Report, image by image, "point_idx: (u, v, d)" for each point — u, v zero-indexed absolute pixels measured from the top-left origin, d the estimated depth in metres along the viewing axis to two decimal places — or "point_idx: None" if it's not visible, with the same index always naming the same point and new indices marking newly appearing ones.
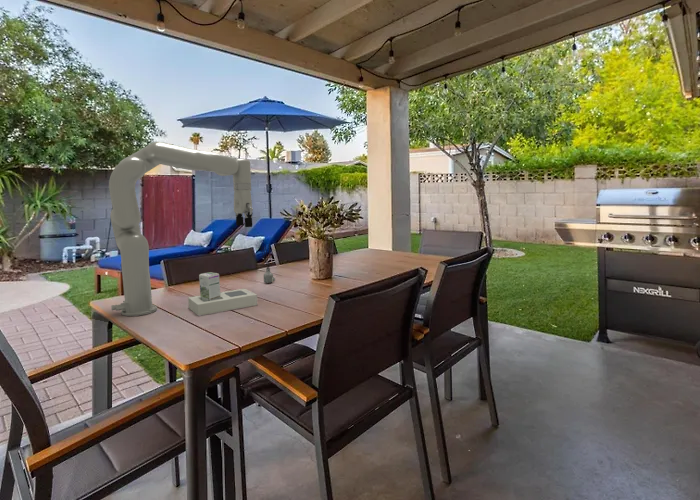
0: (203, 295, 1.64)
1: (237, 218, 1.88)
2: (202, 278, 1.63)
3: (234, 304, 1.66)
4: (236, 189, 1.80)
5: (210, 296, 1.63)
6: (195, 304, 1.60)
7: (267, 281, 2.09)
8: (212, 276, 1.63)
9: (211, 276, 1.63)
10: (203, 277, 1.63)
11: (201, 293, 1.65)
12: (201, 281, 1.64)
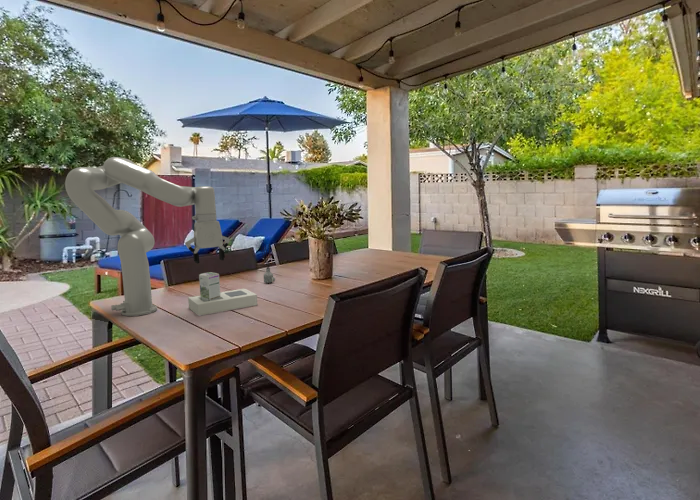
0: (203, 295, 1.64)
1: None
2: (202, 278, 1.63)
3: (234, 304, 1.66)
4: (213, 220, 1.60)
5: (210, 296, 1.63)
6: (195, 304, 1.60)
7: (267, 281, 2.09)
8: (212, 276, 1.63)
9: (211, 276, 1.63)
10: (203, 277, 1.63)
11: (201, 293, 1.65)
12: (201, 281, 1.64)
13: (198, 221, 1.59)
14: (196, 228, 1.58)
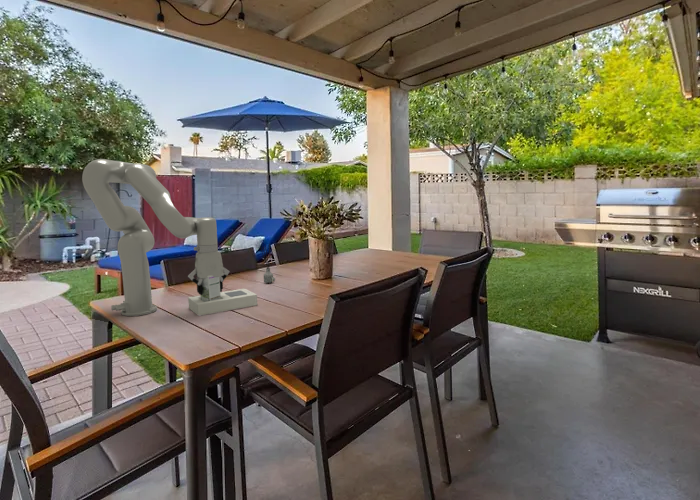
0: (203, 295, 1.64)
1: (201, 286, 1.63)
2: None
3: (234, 304, 1.66)
4: (214, 251, 1.62)
5: (210, 296, 1.63)
6: (195, 304, 1.60)
7: (267, 281, 2.09)
8: None
9: (211, 276, 1.63)
10: None
11: None
12: None
13: (200, 252, 1.61)
14: (197, 259, 1.60)
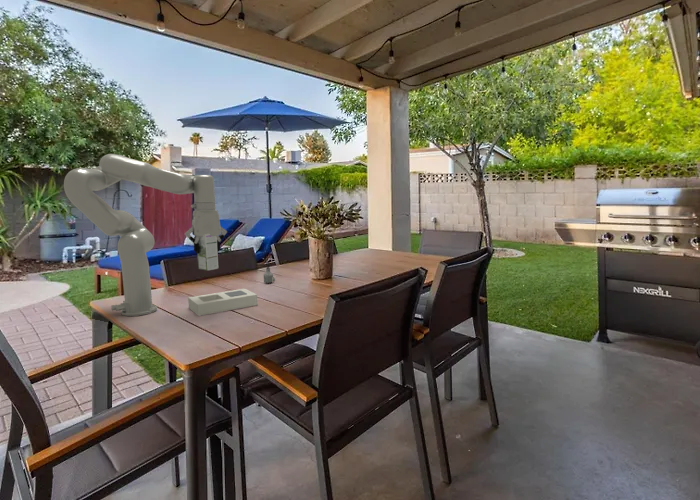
0: (200, 254, 1.62)
1: (198, 245, 1.60)
2: None
3: (234, 304, 1.66)
4: (211, 209, 1.59)
5: (207, 255, 1.61)
6: (195, 304, 1.60)
7: (267, 281, 2.09)
8: None
9: (208, 234, 1.60)
10: None
11: None
12: None
13: (197, 209, 1.58)
14: (194, 216, 1.57)
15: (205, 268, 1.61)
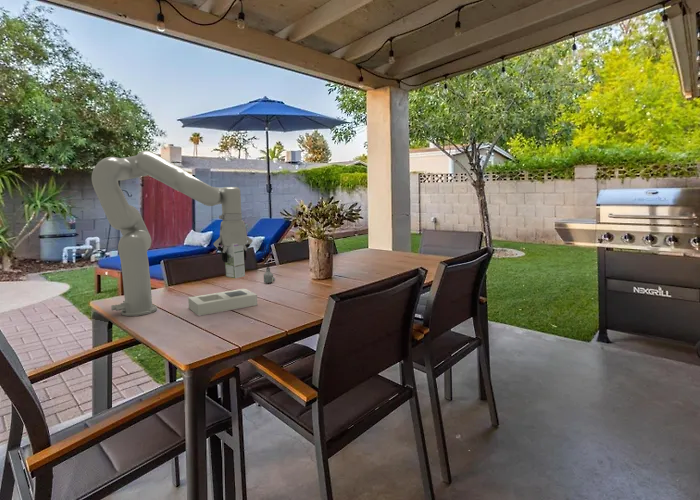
0: (228, 263, 1.69)
1: (226, 254, 1.67)
2: None
3: (234, 304, 1.66)
4: (238, 220, 1.66)
5: (235, 264, 1.67)
6: (195, 304, 1.60)
7: (267, 281, 2.09)
8: (237, 244, 1.68)
9: (236, 244, 1.67)
10: None
11: None
12: None
13: (225, 220, 1.65)
14: (223, 227, 1.64)
15: (233, 276, 1.68)
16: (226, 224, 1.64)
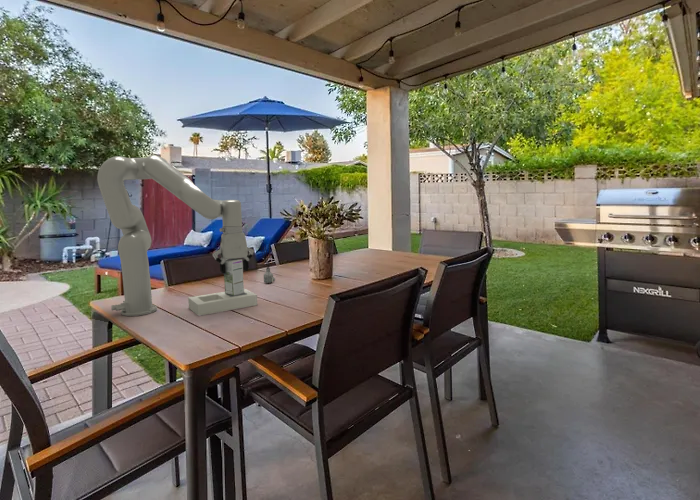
0: (227, 280, 1.70)
1: (224, 265, 1.67)
2: (226, 263, 1.69)
3: (234, 304, 1.66)
4: (239, 232, 1.67)
5: (234, 281, 1.68)
6: (195, 304, 1.60)
7: (267, 281, 2.09)
8: (236, 262, 1.68)
9: (235, 261, 1.68)
10: (227, 262, 1.68)
11: (225, 278, 1.70)
12: (225, 266, 1.69)
13: (225, 233, 1.66)
14: (223, 240, 1.65)
15: (232, 293, 1.69)
16: (227, 237, 1.65)
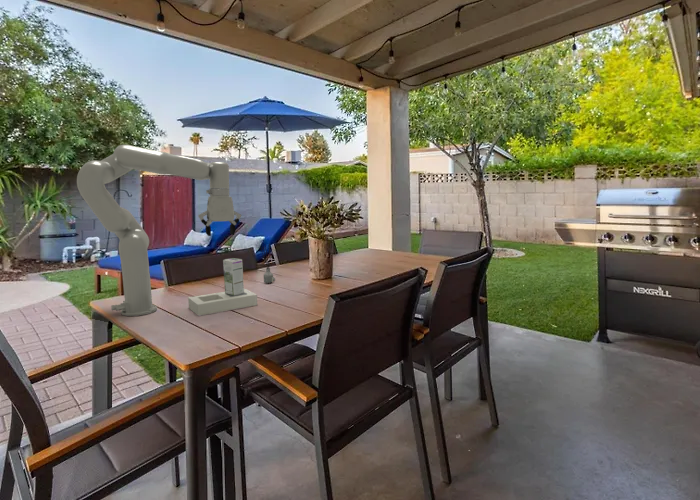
0: (227, 280, 1.70)
1: None
2: (225, 263, 1.69)
3: (234, 304, 1.66)
4: (226, 195, 1.66)
5: (234, 281, 1.68)
6: (195, 304, 1.60)
7: (267, 281, 2.09)
8: (236, 262, 1.68)
9: (235, 261, 1.68)
10: (227, 262, 1.68)
11: (225, 278, 1.70)
12: (225, 266, 1.69)
13: (212, 195, 1.65)
14: (209, 201, 1.65)
15: (232, 293, 1.69)
16: (213, 199, 1.65)
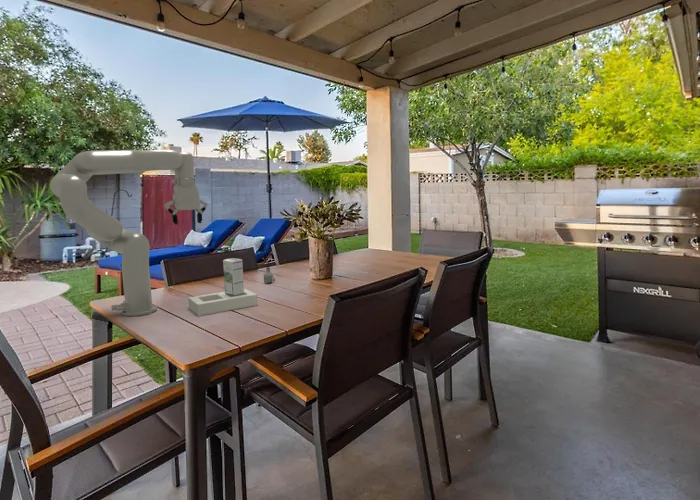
0: (227, 280, 1.70)
1: (176, 216, 1.72)
2: (225, 263, 1.69)
3: (234, 304, 1.66)
4: (191, 184, 1.71)
5: (234, 281, 1.68)
6: (195, 304, 1.60)
7: (267, 281, 2.09)
8: (236, 262, 1.68)
9: (235, 261, 1.68)
10: (227, 262, 1.68)
11: (225, 278, 1.70)
12: (225, 266, 1.69)
13: (177, 184, 1.70)
14: (175, 191, 1.69)
15: (232, 293, 1.69)
16: (178, 188, 1.70)
